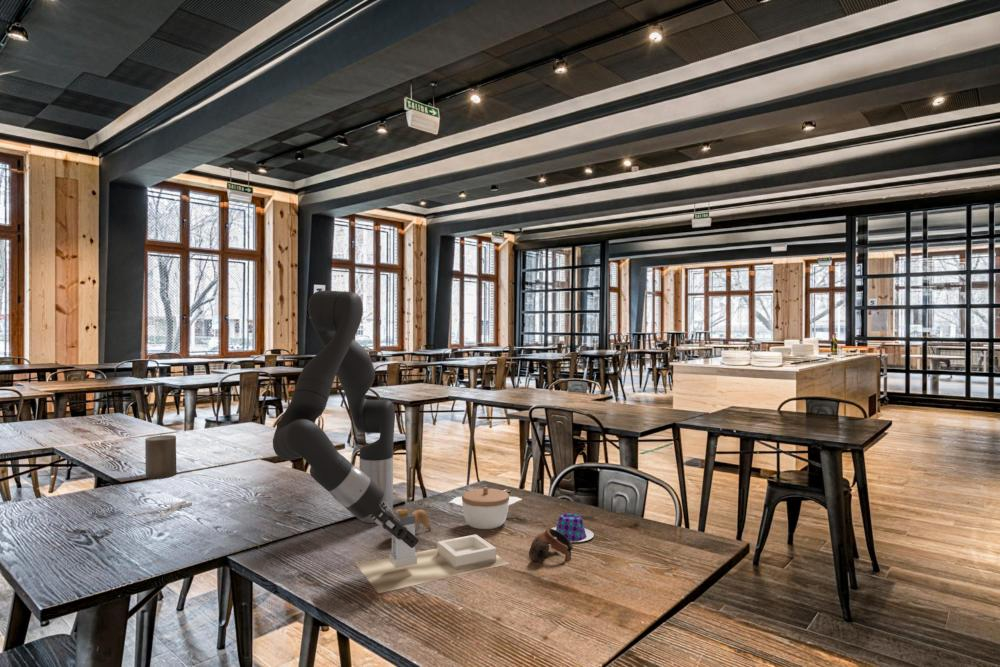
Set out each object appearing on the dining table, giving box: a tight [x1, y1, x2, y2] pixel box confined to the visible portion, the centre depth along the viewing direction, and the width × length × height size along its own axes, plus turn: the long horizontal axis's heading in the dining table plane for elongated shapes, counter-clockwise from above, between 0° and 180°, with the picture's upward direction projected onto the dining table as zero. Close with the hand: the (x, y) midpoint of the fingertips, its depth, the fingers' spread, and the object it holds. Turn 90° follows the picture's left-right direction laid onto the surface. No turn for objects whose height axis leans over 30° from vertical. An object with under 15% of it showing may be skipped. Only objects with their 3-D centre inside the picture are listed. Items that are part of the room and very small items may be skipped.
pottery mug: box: [528, 528, 574, 563], centre depth 136 cm, size 12×10×8 cm
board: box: [355, 548, 510, 594], centre depth 131 cm, size 16×30×2 cm, turn 119°
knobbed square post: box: [389, 508, 417, 568], centre depth 127 cm, size 4×5×11 cm
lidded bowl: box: [461, 486, 510, 530], centre depth 159 cm, size 13×13×11 cm
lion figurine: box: [393, 508, 432, 535], centre depth 151 cm, size 15×5×9 cm, turn 152°
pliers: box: [128, 500, 193, 523], centre depth 171 cm, size 10×2×15 cm
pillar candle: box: [144, 433, 178, 480], centre depth 212 cm, size 10×10×15 cm
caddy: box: [436, 534, 497, 570], centre depth 135 cm, size 10×10×3 cm
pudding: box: [550, 512, 595, 543], centre depth 154 cm, size 12×12×5 cm
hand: (412, 540), depth 128 cm, fingers closed on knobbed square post, 3 cm apart
